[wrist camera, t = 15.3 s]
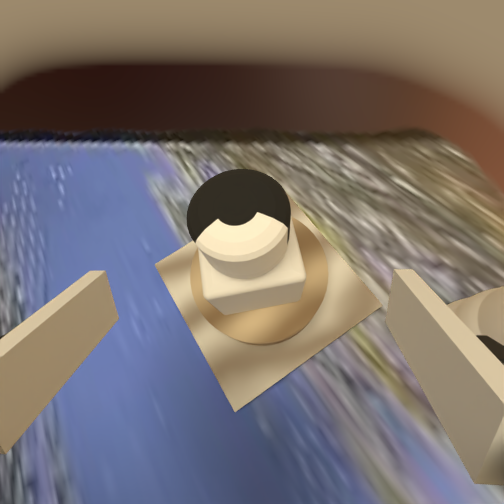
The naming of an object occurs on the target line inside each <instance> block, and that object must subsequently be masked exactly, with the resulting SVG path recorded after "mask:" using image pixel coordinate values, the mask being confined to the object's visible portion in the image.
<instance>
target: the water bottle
mask: <svg viewBox="0 0 504 504" xmlns="http://www.w3.org/2000/svg"><path fill="white" fill-rule="evenodd" d="M447 306H448V307H449V308H450V309H451V310H452V311H453V312H454V313H455V314H456V316H457V317H458V318H459V319H460V320H461V321H462V322H463V323H464V324H465V325H466V326H467V327H468V328H469V329H470V330H471V331H472V332H473V333H474V334H475V335H487V336H489V337H490V338H492V339H494V340H495V341H497V342H498V343H500V344H502V345H503V346H504V286H502V287H500V288H494V289H489V290H486V291H483V292H480V293H478V294H475V295H473V296H471V297H469V298H465V299H461V300H457V301H455V302H452V303H450V304H448V305H447Z"/></svg>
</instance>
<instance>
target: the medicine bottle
mask: <svg viewBox="0 0 504 504" xmlns="http://www.w3.org/2000/svg"><path fill="white" fill-rule="evenodd" d="M187 227H188V230H189V233H190V236H191V238H192V239H193V241H194V242H195V244H196V245H197V247H198V253H199V262H200V271H201V280H202V289H203V296H204V298H205V299H206V300H207V301H208V302H209V303H210V304H212V305H213V306H214V307H215V308H216V309H217V310H219V311H220V312H221V313H222V314H223V315H230V314H235V313H240V312H245V311H250V310H256V309H261V308H266V307H271V306H276V305H281V304H287V303H292V302H297V301H299V300H300V299H301V295H302V292H303V288H304V285H305V281H306V276H307V275H306V271H305V268H304V264H303V260H302V256H301V252H300V248H299V244H298V241H297V237H296V233H295V229H294V225H293V221H292V217H291V207H290V202H289V199H288V196H287V194H286V192H285V190H284V189H283V188H282V186H281V185H280V184H279V183H278V182H277V181H276V180H274V179H273V178H272V177H270V176H268V175H266V174H264V173H261V172H259V171H255V170H248V169H236V170H230V171H225V172H223V173H220V174H218V175H216V176H214V177H212V178H211V179H209V180H208V181H206V182H205V183H204V184H203V185H202V186H201V187H200V188H199V189H198V190H197V191H196V193H195V194H194V196H193V197H192V199H191V201H190V204H189V207H188V211H187Z"/></svg>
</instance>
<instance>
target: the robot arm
mask: <svg viewBox="0 0 504 504" xmlns="http://www.w3.org/2000/svg"><path fill="white" fill-rule="evenodd" d="M118 319H119V317H118V314H117V310H116V307H115V303H114V299H113V296H112V292H111V289H110V285H109V282H108V278H107V275H106V271H89V272H88V273H87V274H85V275H84V276H83V277H82V278H80V279H79V280H78V281H76V282H75V283H74V284H72V285H71V286H70V287H68V288H67V289H66V290H64V291H63V292H62V293H60V294H59V295H58V296H57V297H55V298H54V299H53V300H51V301H50V302H49V303H47V304H46V305H45V306H43V307H42V308H41V309H39V310H38V311H37V312H35V313H34V314H33V315H32V316H30V317H29V318H28V319H26V320H25V321H24V322H22V323H21V324H20V325H18V326H17V327H16V328H14V329H13V330H12V331H10V332H9V333H7V334H5V335H3V336H1V337H0V454H6V453H7V452H8V451H9V450H10V449H11V447H12V446H13V445H14V444H15V443H16V441H17V440H18V439H19V438H20V437H21V435H22V434H23V433H24V432H25V431H26V429H27V428H28V427H29V426H30V425H31V423H32V422H33V421H34V420H35V419H36V417H37V416H38V415H39V414H40V413H41V411H42V410H43V409H44V408H45V407H46V405H47V404H48V403H49V402H50V401H51V399H52V398H53V397H54V396H55V395H56V393H57V392H58V391H59V390H60V389H61V387H62V386H63V385H64V384H65V383H66V382H67V380H68V379H69V378H70V377H71V376H72V374H73V373H74V372H75V371H76V370H77V368H78V367H79V366H80V365H81V364H82V362H83V361H84V360H85V359H86V358H87V356H88V355H89V354H90V353H91V352H92V350H93V349H94V348H95V347H96V346H97V344H98V343H99V342H100V341H101V340H102V338H103V337H104V336H105V335H106V334H107V332H108V331H109V330H110V329H111V328H112V326H113V325H114V324H115V323H116V322H117V320H118ZM385 323H386V325H387V326H388V328H389V330H390V332H391V334H392V335H393V337H394V339H395V341H396V343H397V344H398V346H399V348H400V350H401V352H402V353H403V355H404V357H405V359H406V361H407V363H408V364H409V366H410V368H411V370H412V372H413V373H414V375H415V377H416V379H417V381H418V382H419V384H420V386H421V388H422V390H423V392H424V393H425V395H426V397H427V399H428V401H429V402H430V404H431V406H432V408H433V410H434V411H435V413H436V415H437V417H438V419H439V420H440V422H441V424H442V426H443V428H444V430H445V431H446V433H447V435H448V437H449V439H450V440H451V442H452V444H453V446H454V448H455V449H456V451H457V453H458V455H459V457H460V459H461V460H462V462H463V464H464V466H465V468H466V469H467V471H468V473H469V475H470V477H471V478H472V480H473V482H474V484H490V485H504V346H503V345H502V344H500V343H498V342H497V341H495V340H494V339H492V338H490V337H489V336H487V335H475V334H474V333H473V332H472V331H471V330H470V329H469V328H468V327H467V326H466V325H465V324H464V323H463V322H462V321H461V320H460V319H459V318H458V317H457V316H456V314H455V313H454V312H453V311H452V310H451V309H450V308H449V307H448V306H447V305H446V304H445V303H444V302H443V301H442V300H441V299H440V298H439V297H438V296H437V295H436V293H435V292H434V291H433V290H432V289H431V288H430V287H429V286H428V285H427V284H426V283H425V282H424V281H423V280H422V279H421V278H420V277H419V276H418V275H417V274H416V272H415V271H414V270H413V269H394V272H393V278H392V284H391V290H390V296H389V302H388V308H387V314H386V320H385Z"/></svg>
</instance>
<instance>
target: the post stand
mask: <svg viewBox="0 0 504 504" xmlns="http://www.w3.org/2000/svg"><path fill="white" fill-rule="evenodd" d="M286 194H287V193H286ZM287 196H288V199H289V202H290V207H291V217H292V221H293V225H294V229H295V233H296V237H297V241H298V244H299V248H300V252H301V256H302V260H303V264H304V268H305V271H306V275H307V276H306V281H305V285H304V288H303V292H302V295H301V299H300V300H299V301H297V302H292V303H287V304H281V305H276V306H271V307H266V308H261V309H256V310H250V311H245V312H240V313H235V314H230V315H223V314H222V313H221V312H220V311H219V310H217V309H216V308H215V307H214V306H213V305H212V304H210V303H209V302H208V301H207V300H206V299H205V298H204V296H203V289H202V280H201V271H200V262H199V253H198V247H197V245H196V244H195V242H194V241H192V242H190V243H189V244H187V245H185V246H184V247H182V248H181V249H179V250H177V251H176V252H174V253H172V254H171V255H169V256H168V257H166V258H164V259H163V260H161V261H160V262H158V263H156V264H155V266H156V268H157V270H158V272H159V274H160V275H161V277H162V279H163V281H164V283H165V285H166V286H167V288H168V290H169V292H170V294H171V296H172V297H173V299H174V301H175V303H176V305H177V307H178V308H179V310H180V312H181V314H182V316H183V318H184V320H185V321H186V323H187V325H188V327H189V329H190V331H191V332H192V334H193V336H194V338H195V340H196V342H197V343H198V345H199V347H200V349H201V351H202V353H203V354H204V356H205V358H206V360H207V362H208V364H209V365H210V367H211V369H212V371H213V373H214V375H215V377H216V378H217V380H218V382H219V384H220V386H221V388H222V389H223V391H224V393H225V395H226V397H227V399H228V400H229V402H230V404H231V406H232V408H233V410H234V411H235V412H236V411H237V410H239V409H240V408H242V407H243V406H244V405H246V404H247V403H249V402H250V401H251V400H253V399H254V398H255V397H257V396H258V395H260V394H261V393H262V392H264V391H265V390H266V389H268V388H269V387H271V386H272V385H273V384H275V383H276V382H278V381H279V380H280V379H282V378H283V377H284V376H286V375H287V374H289V373H290V372H291V371H293V370H294V369H295V368H297V367H298V366H300V365H301V364H302V363H304V362H305V361H307V360H308V359H309V358H311V357H312V356H313V355H315V354H316V353H318V352H319V351H320V350H322V349H323V348H325V347H326V346H327V345H329V344H330V343H331V342H333V341H334V340H336V339H337V338H338V337H340V336H341V335H342V334H344V333H345V332H347V331H348V330H349V329H351V328H352V327H354V326H355V325H356V324H358V323H359V322H360V321H362V320H363V319H365V318H366V317H367V316H369V315H370V314H371V313H373V312H374V311H376V310H377V309H378V308H380V307H381V306H383V305H382V304H381V303H380V301H379V300H378V299H377V298H376V297H375V296H374V294H373V293H372V292H371V291H370V290H369V289H368V287H367V286H366V285H365V284H364V283H363V282H362V280H361V279H360V278H359V277H358V276H357V275H356V273H355V272H354V271H353V270H352V269H351V268H350V266H349V265H348V264H347V263H346V262H345V261H344V259H343V258H342V257H341V256H340V255H339V254H338V252H337V251H336V250H335V249H334V248H333V247H332V245H331V244H330V243H329V242H328V241H327V240H326V238H325V237H324V236H323V235H322V234H321V233H320V231H319V230H318V229H317V228H316V227H315V226H314V224H313V223H312V222H311V221H310V220H309V219H308V217H307V216H306V215H305V214H304V213H303V212H302V210H301V209H300V208H299V207H298V206H297V205H296V203H295V202H294V201H293V200H292V199H291V198H290V196H289V195H288V194H287Z"/></svg>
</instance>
